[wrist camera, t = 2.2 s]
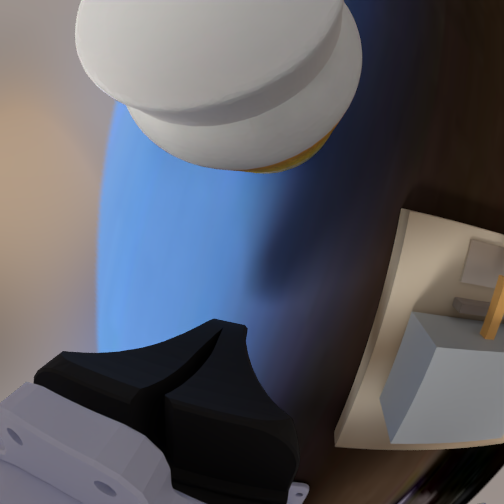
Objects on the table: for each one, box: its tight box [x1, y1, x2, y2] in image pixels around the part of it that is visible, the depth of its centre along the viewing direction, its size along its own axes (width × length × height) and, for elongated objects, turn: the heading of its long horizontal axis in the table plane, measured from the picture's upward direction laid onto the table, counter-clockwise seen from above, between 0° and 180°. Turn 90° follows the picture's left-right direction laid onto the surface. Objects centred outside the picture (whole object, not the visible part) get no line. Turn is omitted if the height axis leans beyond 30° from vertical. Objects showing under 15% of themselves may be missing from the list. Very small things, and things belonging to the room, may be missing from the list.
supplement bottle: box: [75, 0, 362, 174], centre depth 8 cm, size 5×5×10 cm
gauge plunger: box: [379, 275, 504, 444], centre depth 10 cm, size 7×6×3 cm
